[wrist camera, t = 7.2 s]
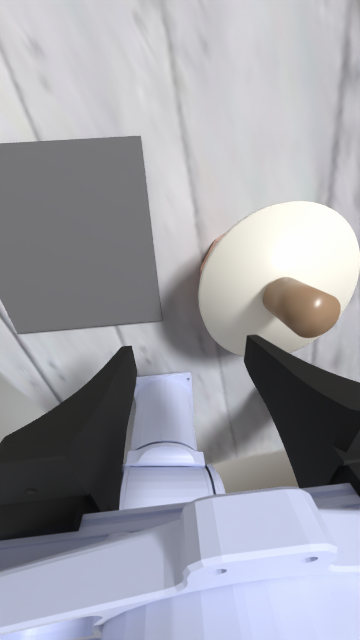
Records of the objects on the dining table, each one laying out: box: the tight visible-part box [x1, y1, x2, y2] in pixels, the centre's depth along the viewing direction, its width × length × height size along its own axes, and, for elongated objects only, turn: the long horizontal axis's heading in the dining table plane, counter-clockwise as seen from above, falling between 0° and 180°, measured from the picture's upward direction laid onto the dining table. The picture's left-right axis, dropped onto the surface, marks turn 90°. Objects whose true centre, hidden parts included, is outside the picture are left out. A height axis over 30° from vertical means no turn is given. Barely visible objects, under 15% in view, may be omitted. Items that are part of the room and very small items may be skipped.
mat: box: [0, 136, 162, 333], centre depth 19 cm, size 16×16×1 cm
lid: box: [198, 201, 360, 357], centre depth 14 cm, size 13×13×5 cm
